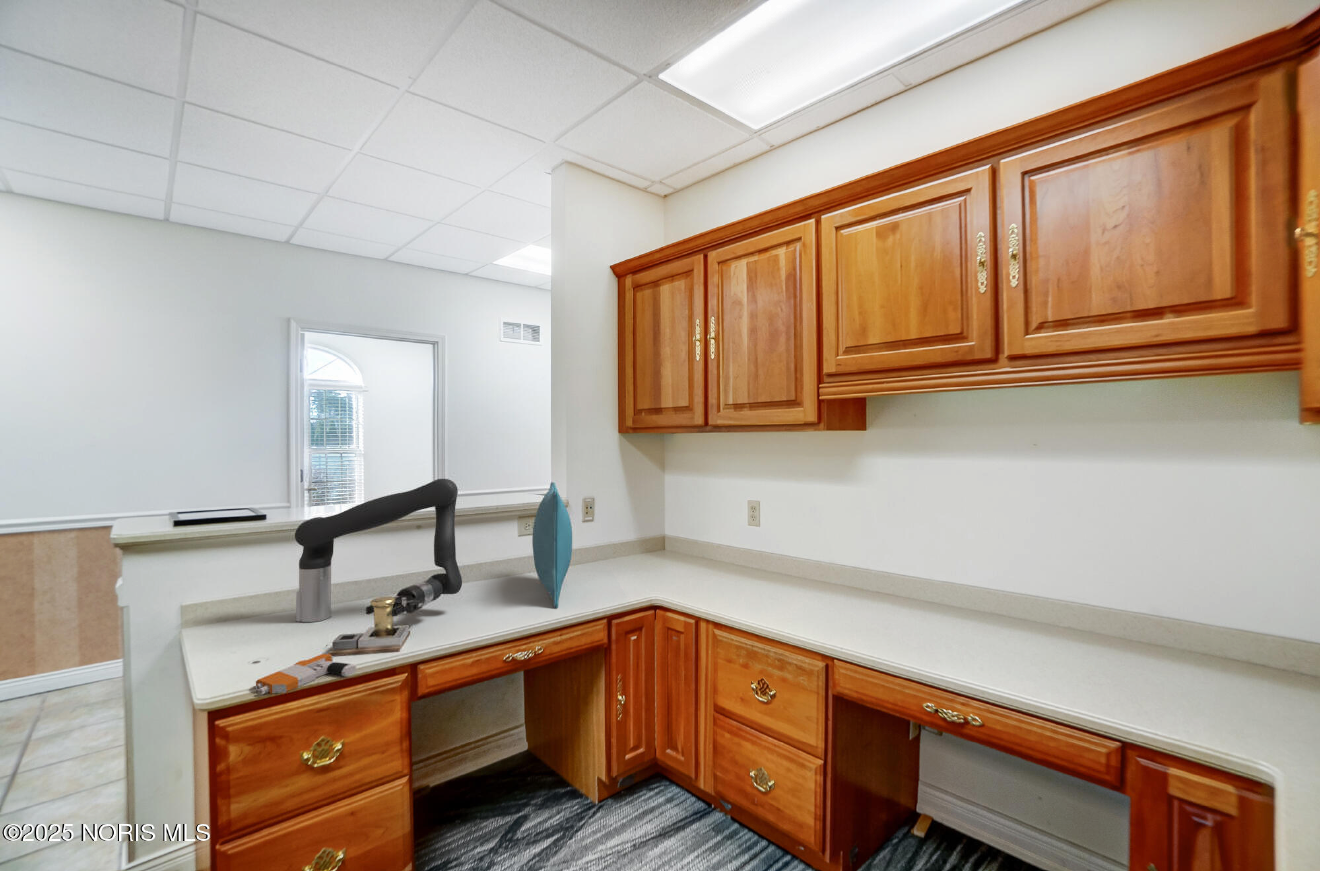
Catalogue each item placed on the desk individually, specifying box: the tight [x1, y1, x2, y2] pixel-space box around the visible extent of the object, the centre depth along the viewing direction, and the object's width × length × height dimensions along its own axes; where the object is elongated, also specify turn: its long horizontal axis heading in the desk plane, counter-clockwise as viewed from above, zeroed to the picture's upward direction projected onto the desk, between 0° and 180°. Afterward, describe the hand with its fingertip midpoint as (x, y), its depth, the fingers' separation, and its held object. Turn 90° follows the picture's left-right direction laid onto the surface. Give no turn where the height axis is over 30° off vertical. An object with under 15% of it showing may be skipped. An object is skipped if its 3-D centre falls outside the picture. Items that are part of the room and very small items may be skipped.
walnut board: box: [328, 630, 411, 657], centre depth 168 cm, size 18×15×1 cm
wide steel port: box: [358, 624, 410, 649], centre depth 168 cm, size 11×11×2 cm
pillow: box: [531, 481, 573, 609], centre depth 224 cm, size 43×15×42 cm, turn 12°
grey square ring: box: [331, 632, 364, 651], centre depth 164 cm, size 6×6×2 cm
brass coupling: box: [370, 595, 395, 637], centre depth 168 cm, size 6×6×12 cm
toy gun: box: [255, 653, 357, 696], centre depth 143 cm, size 3×19×15 cm
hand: (379, 611), depth 167 cm, fingers open, 8 cm apart
